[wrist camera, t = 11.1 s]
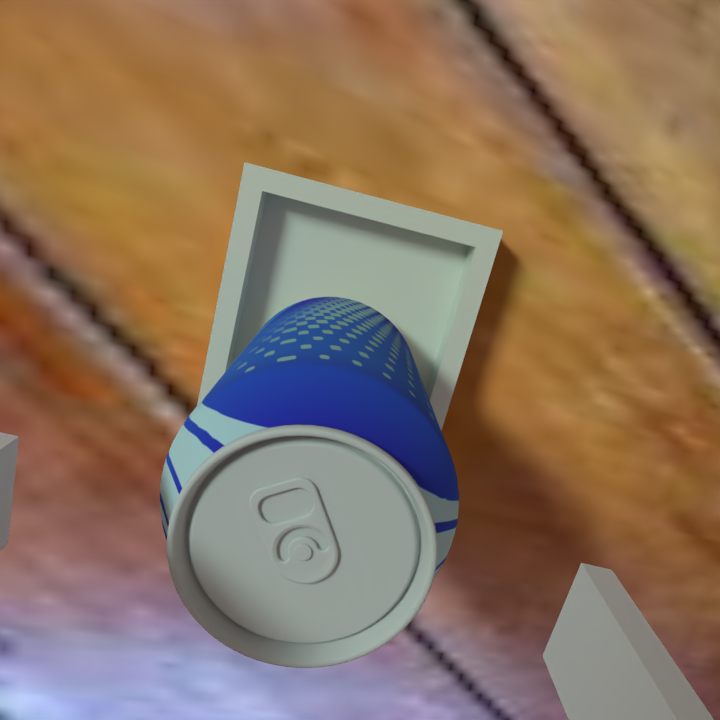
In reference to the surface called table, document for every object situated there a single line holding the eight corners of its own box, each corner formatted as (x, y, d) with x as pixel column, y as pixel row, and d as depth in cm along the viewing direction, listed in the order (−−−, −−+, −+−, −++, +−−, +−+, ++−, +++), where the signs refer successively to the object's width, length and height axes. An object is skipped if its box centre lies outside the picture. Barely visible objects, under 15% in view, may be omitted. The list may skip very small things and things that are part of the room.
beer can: (439, 330, 29) (535, 467, 13) (376, 472, 31) (395, 738, 15) (282, 266, 28) (188, 334, 12) (227, 417, 30) (86, 638, 14)
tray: (253, 166, 28) (244, 162, 25) (491, 229, 28) (503, 231, 26) (188, 496, 32) (175, 517, 30) (396, 543, 33) (399, 567, 30)
